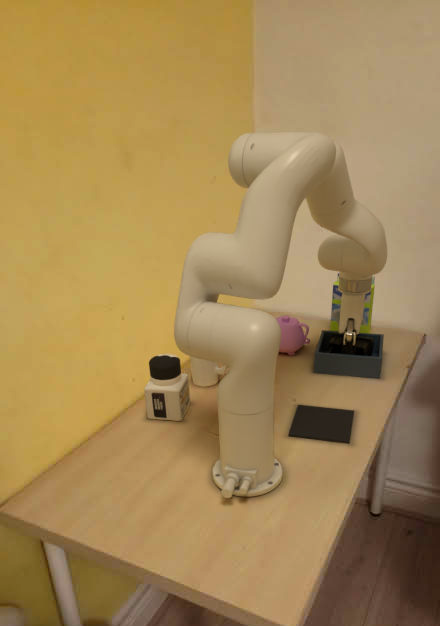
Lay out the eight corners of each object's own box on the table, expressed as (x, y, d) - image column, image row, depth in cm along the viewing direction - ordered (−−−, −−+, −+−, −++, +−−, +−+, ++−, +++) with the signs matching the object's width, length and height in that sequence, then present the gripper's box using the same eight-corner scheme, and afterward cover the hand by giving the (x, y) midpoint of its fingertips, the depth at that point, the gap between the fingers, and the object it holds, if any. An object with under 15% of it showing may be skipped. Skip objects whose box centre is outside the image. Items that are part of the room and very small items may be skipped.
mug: (186, 384, 129) (182, 338, 124) (200, 372, 134) (197, 327, 129) (222, 392, 125) (220, 345, 119) (236, 380, 130) (234, 334, 124)
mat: (349, 443, 105) (349, 441, 105) (288, 436, 108) (288, 434, 108) (354, 412, 115) (354, 410, 115) (297, 406, 118) (297, 404, 118)
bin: (379, 378, 127) (382, 358, 125) (313, 372, 132) (314, 353, 129) (381, 353, 140) (383, 334, 137) (321, 348, 144) (321, 330, 141)
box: (328, 337, 150) (332, 276, 141) (333, 332, 153) (336, 272, 145) (367, 343, 146) (373, 280, 137) (370, 337, 149) (376, 276, 140)
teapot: (305, 360, 138) (307, 326, 134) (249, 354, 143) (248, 321, 138) (312, 343, 147) (314, 311, 142) (259, 338, 151) (259, 307, 147)
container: (182, 421, 114) (177, 367, 108) (147, 419, 116) (140, 365, 110) (190, 403, 121) (186, 351, 115) (158, 401, 123) (152, 349, 116)
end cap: (372, 359, 136) (374, 334, 133) (364, 371, 131) (367, 345, 127) (333, 352, 140) (335, 328, 137) (324, 363, 135) (326, 338, 132)
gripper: (342, 272, 134) (337, 337, 142) (334, 295, 119) (330, 365, 128) (373, 273, 132) (366, 339, 140) (369, 296, 117) (362, 368, 126)
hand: (349, 351), depth 134 cm, fingers closed on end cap, 8 cm apart
